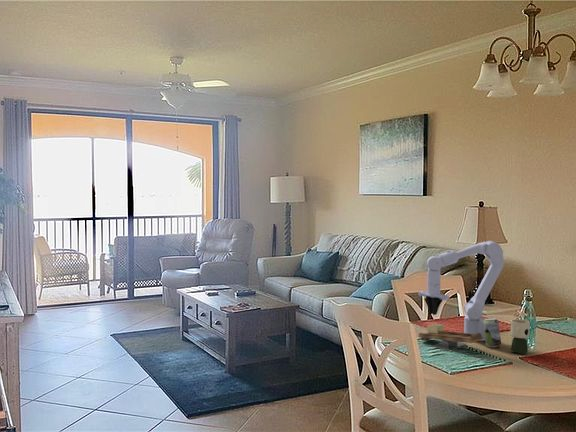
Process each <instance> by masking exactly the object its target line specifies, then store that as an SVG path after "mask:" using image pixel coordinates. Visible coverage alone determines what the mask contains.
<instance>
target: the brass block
mask: <svg viewBox="0 0 576 432" xmlns="http://www.w3.org/2000/svg"><path fill="white" fill-rule="evenodd" d="M426 328H427V332H428V334H438V335H443V334H445V333H444V331H445V325H444V324H441V323H432V324H429V325H427V326H426Z"/></svg>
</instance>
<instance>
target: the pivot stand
mask: <svg viewBox="0 0 576 432" xmlns="http://www.w3.org/2000/svg"><path fill="white" fill-rule="evenodd" d="M467 344H468V343H466V342H456V341H447V340H441V342H439V343H437V344H433V345H432V348H433V347H436V348H435V349H437V348H440V349H439V350H441V349H444V350H443V351H445V350H448V351H447V352H449V351H450V350H453V351H455V350H454V349H456V348H458V349H460V348H459V347H461V348H463V346H464V347H466V346H467ZM456 350H457V349H456ZM450 352H451V351H450Z"/></svg>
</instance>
